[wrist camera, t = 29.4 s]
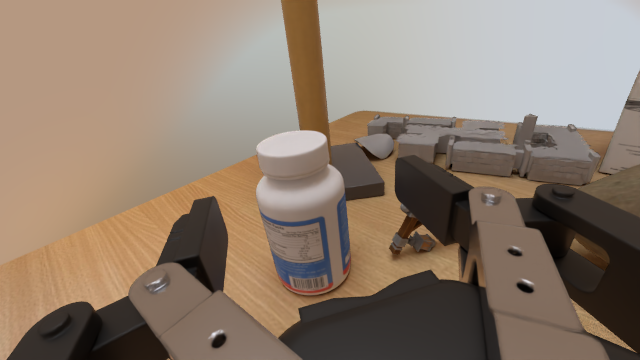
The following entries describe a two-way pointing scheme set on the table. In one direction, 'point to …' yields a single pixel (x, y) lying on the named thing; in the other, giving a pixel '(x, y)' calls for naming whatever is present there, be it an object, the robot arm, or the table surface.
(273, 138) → the pill bottle
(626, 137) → the ink box
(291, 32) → the stand pole
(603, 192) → the stone
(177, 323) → the robot arm
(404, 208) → the brown grey jointed piece
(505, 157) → the architectural model
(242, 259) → the table surface
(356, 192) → the pole stand
